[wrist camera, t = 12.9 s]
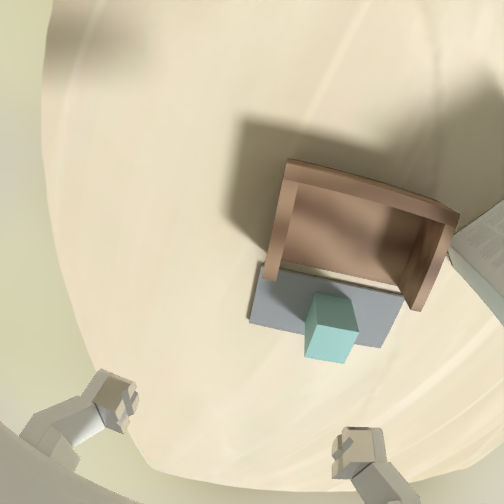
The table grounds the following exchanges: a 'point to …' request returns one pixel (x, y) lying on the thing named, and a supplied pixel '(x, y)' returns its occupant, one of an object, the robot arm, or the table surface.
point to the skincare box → (483, 257)
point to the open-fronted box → (359, 229)
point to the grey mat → (304, 287)
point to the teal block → (330, 328)
